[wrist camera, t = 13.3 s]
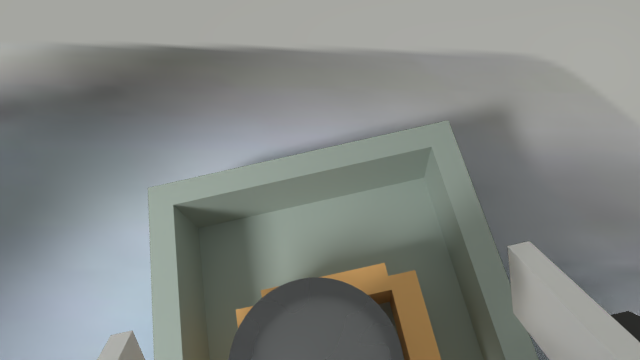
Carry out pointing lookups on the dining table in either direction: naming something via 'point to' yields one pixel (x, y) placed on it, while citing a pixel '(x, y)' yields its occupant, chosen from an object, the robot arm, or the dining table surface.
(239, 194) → the walled box
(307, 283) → the peg
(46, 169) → the dining table surface
